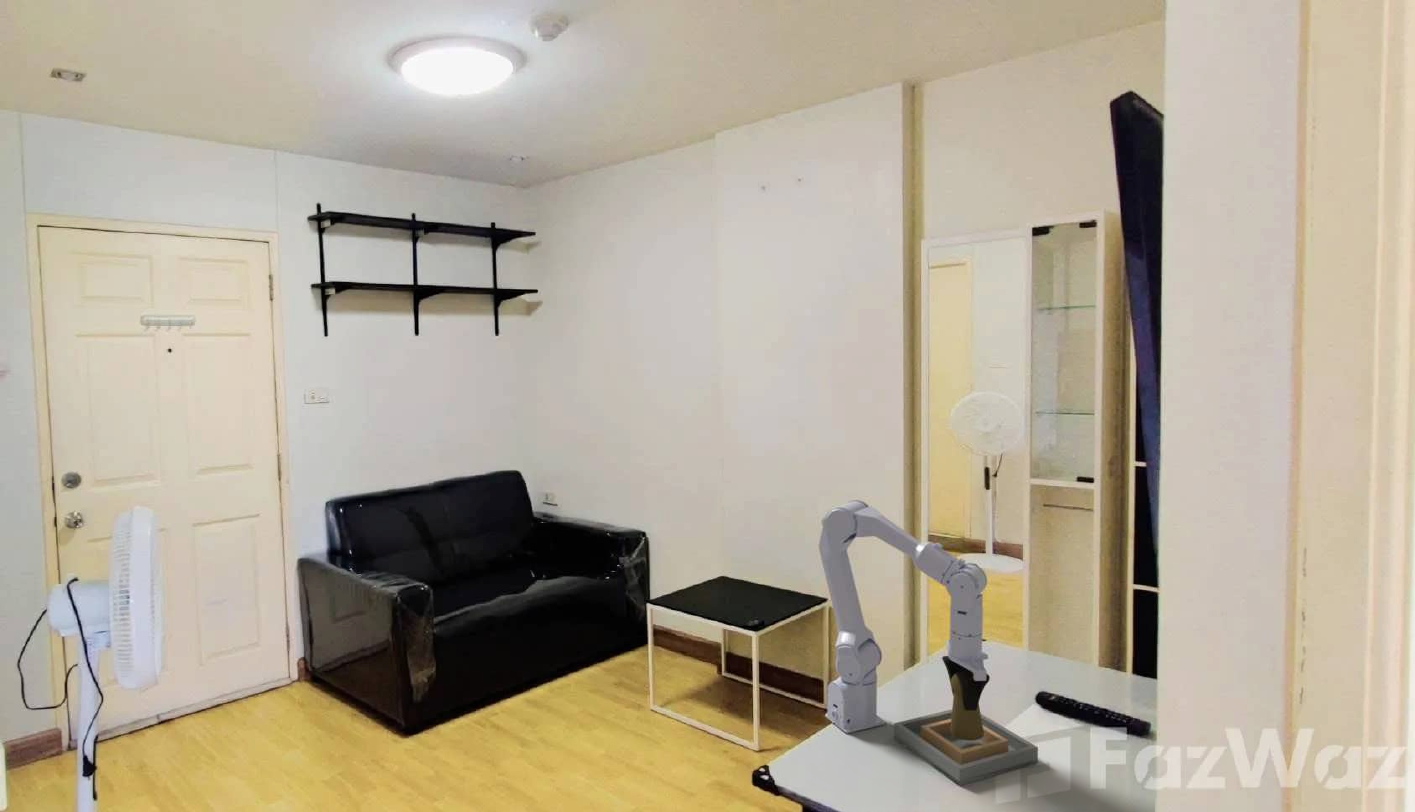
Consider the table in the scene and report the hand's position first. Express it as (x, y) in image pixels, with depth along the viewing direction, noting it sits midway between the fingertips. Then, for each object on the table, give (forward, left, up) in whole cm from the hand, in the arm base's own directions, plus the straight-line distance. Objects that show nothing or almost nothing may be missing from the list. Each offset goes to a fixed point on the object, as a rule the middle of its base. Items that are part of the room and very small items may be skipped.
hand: (964, 702), depth 145 cm
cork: (+1, 0, -6) cm, 6 cm away
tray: (0, 0, -9) cm, 9 cm away
